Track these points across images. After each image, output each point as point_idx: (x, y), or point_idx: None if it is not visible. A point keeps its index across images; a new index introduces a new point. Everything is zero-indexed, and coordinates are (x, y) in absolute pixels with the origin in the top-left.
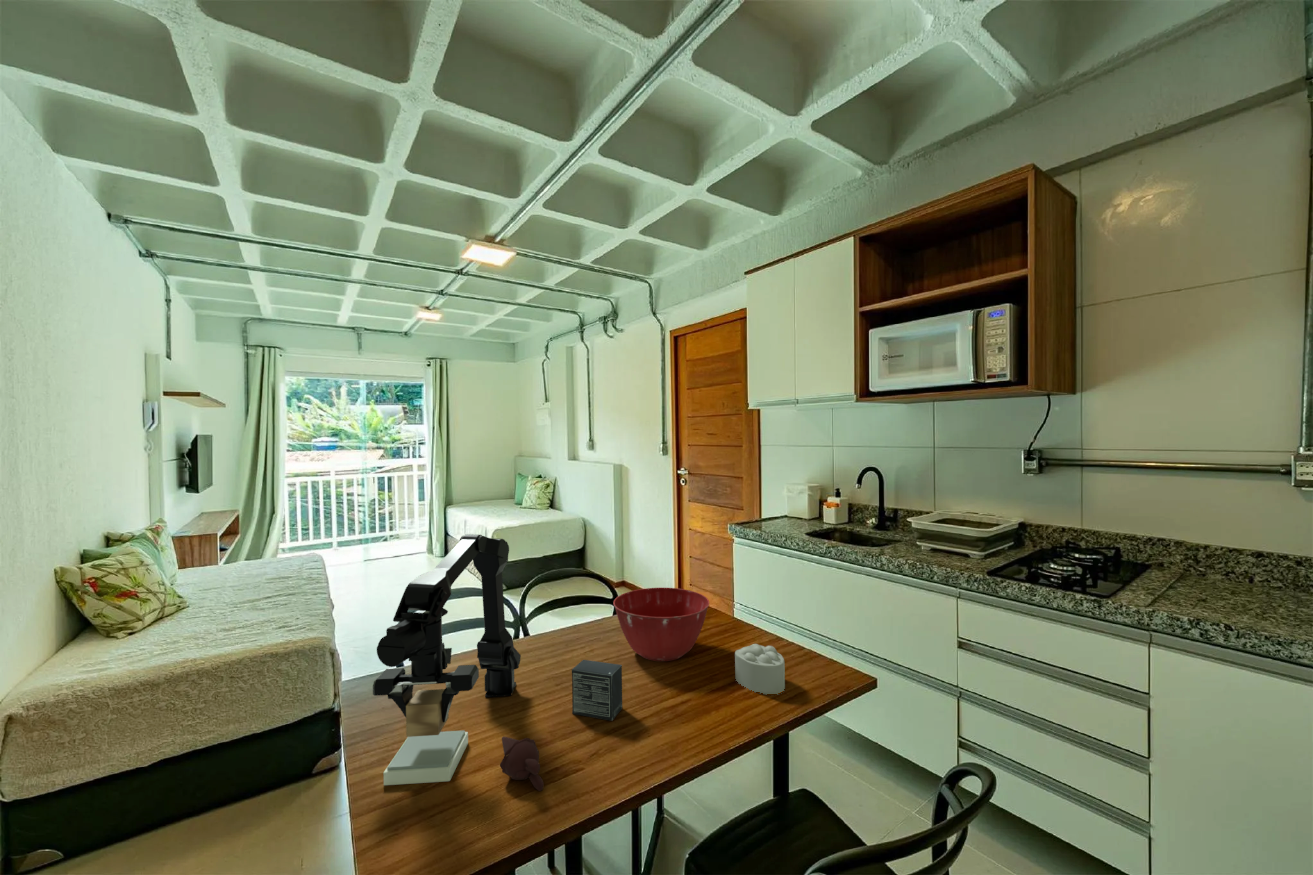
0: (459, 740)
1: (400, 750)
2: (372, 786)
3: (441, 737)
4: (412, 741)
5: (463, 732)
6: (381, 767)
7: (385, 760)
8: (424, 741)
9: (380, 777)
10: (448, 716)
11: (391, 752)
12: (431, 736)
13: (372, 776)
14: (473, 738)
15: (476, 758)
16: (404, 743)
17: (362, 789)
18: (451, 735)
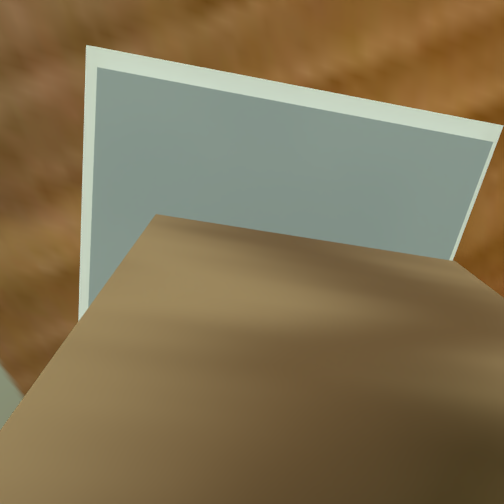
0: (448, 256)
1: (98, 272)
2: (50, 357)
3: (336, 191)
4: (145, 189)
5: (481, 167)
6: (27, 230)
7: (20, 171)
8: (228, 209)
9: (58, 306)
10: (461, 267)
11: (20, 93)
12: (266, 158)
13: (15, 290)
14: (495, 76)
15: (486, 275)
16: (96, 198)
17: (14, 365)
18: (401, 186)
